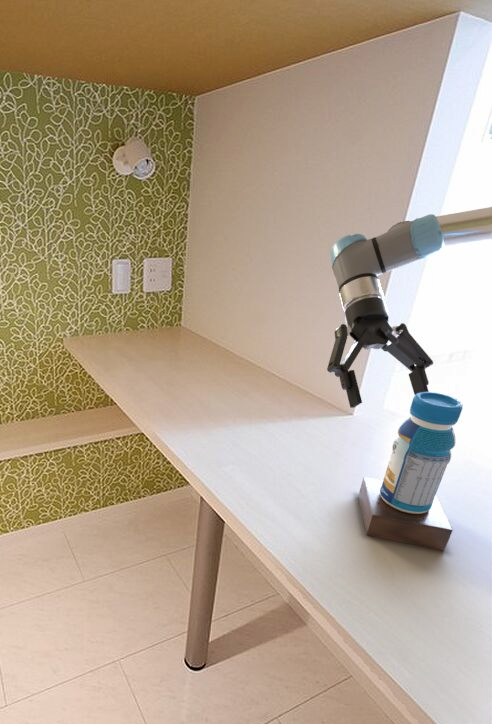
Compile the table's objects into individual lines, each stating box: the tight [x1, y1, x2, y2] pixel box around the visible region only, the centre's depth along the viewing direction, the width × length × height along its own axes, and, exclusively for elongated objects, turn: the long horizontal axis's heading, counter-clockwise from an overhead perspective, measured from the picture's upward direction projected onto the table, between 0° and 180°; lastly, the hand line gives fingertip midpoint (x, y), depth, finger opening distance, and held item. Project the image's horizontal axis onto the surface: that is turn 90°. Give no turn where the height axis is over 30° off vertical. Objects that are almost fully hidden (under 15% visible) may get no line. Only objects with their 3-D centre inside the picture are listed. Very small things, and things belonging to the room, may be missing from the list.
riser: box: [357, 476, 454, 552], centre depth 79 cm, size 12×12×4 cm
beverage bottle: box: [380, 391, 463, 514], centre depth 74 cm, size 8×8×20 cm
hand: (390, 404), depth 81 cm, fingers open, 13 cm apart
